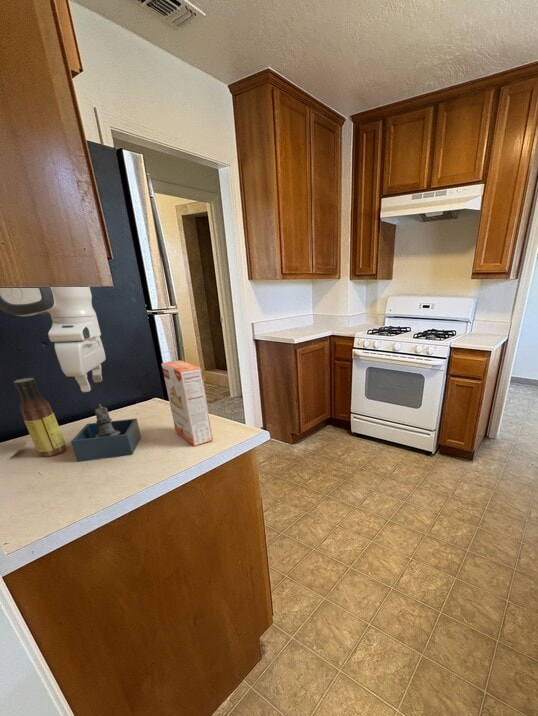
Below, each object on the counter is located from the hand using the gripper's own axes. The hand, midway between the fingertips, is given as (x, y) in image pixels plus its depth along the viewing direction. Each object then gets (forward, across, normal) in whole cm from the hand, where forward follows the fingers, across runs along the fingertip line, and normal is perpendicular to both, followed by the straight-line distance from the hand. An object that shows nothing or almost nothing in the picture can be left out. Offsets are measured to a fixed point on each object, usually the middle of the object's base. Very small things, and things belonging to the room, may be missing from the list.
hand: (92, 386), depth 88 cm
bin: (+17, 0, +1) cm, 17 cm away
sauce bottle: (+18, -2, -14) cm, 23 cm away
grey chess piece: (+17, 0, +1) cm, 17 cm away
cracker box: (+17, -1, +22) cm, 28 cm away
